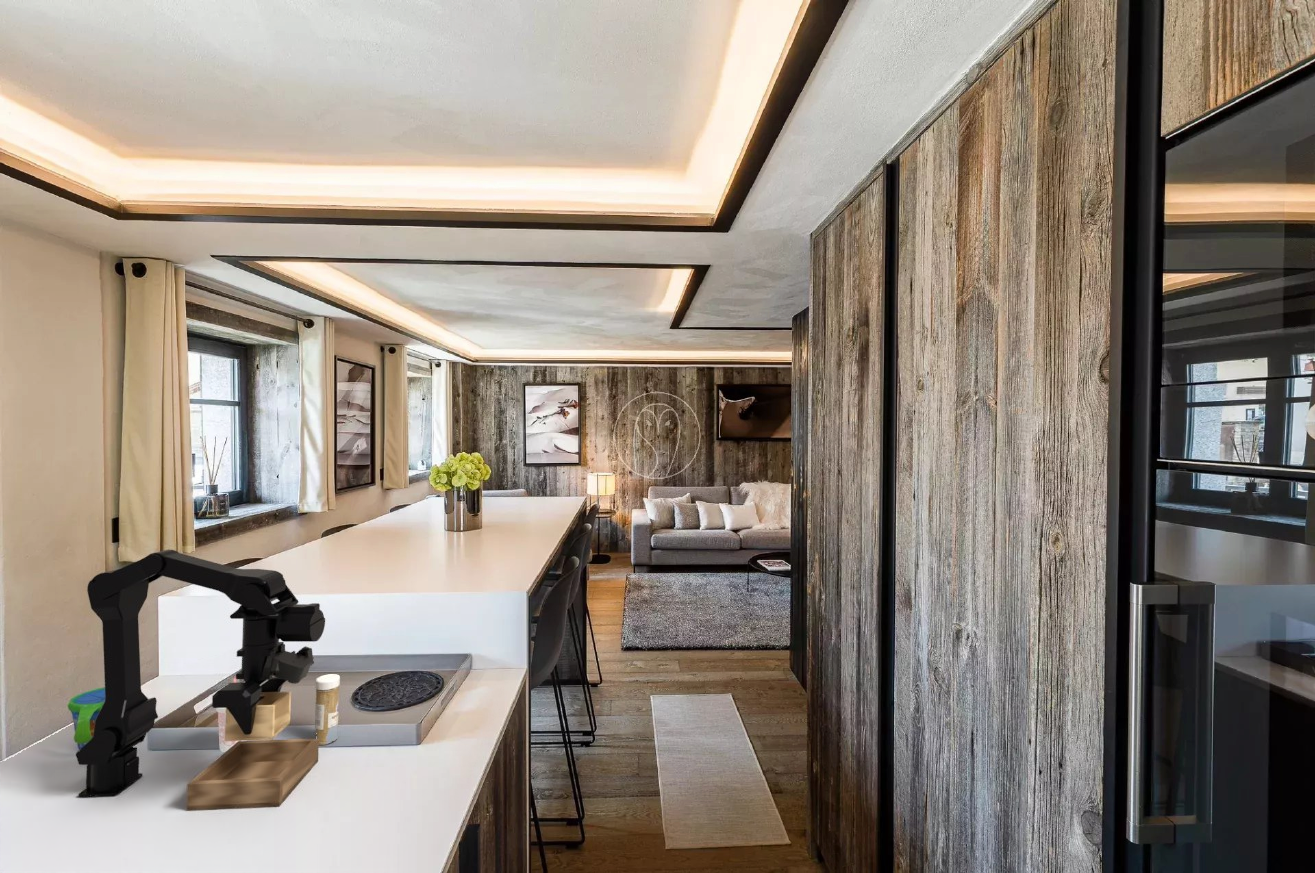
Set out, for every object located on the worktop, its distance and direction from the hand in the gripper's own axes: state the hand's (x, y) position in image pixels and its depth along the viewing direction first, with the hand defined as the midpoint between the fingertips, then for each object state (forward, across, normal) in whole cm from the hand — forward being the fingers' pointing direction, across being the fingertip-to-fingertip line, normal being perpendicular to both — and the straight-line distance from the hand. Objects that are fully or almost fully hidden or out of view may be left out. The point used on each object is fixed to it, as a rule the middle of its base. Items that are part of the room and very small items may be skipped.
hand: (258, 725), depth 112 cm
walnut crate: (+11, 0, 0) cm, 11 cm away
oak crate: (+1, 0, 0) cm, 1 cm away
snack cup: (+11, +18, +39) cm, 45 cm away
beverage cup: (+11, +15, +12) cm, 22 cm away
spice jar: (+11, +16, -6) cm, 20 cm away
